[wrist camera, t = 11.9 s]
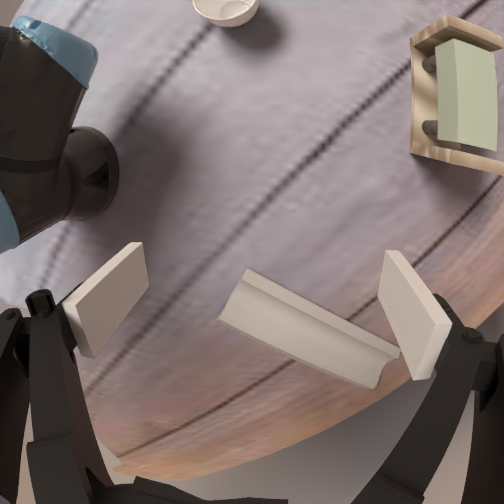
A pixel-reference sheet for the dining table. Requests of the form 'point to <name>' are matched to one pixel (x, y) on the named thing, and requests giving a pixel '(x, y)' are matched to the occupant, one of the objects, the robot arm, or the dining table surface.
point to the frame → (427, 91)
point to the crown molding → (305, 331)
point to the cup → (226, 11)
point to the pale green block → (466, 95)
